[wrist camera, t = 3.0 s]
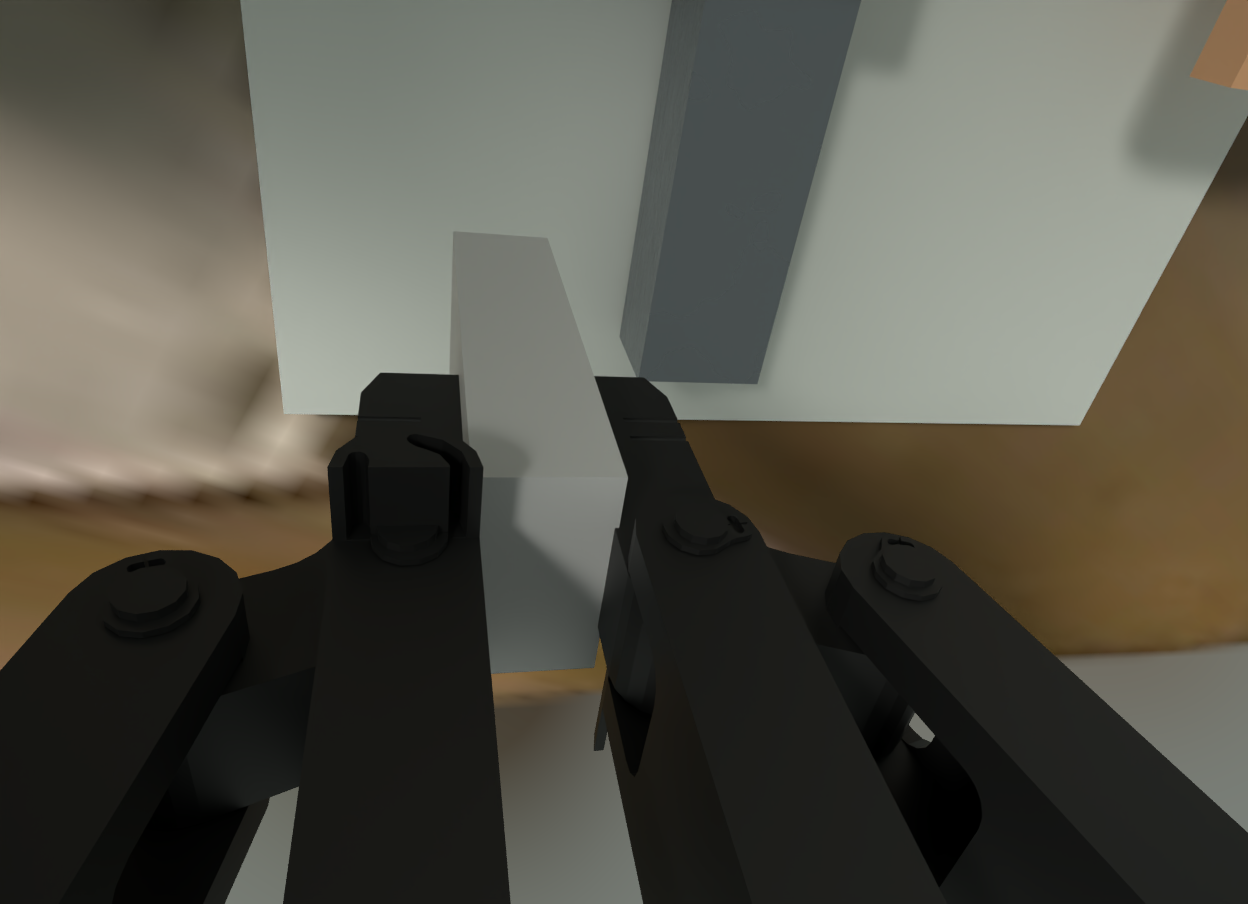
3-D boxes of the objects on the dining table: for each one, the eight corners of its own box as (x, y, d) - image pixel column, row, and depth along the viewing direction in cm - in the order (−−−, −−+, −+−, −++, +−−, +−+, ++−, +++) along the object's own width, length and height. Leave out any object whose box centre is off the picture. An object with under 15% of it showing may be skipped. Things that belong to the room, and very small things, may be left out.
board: (174, -735, 15) (158, -776, 14) (1443, -320, 23) (1488, -328, 22) (288, 395, 28) (283, 413, 27) (1062, 410, 36) (1079, 425, 35)
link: (686, -385, 18) (745, -441, 15) (928, -320, 19) (1029, -357, 16) (590, 335, 27) (612, 397, 24) (755, 342, 29) (796, 400, 26)
